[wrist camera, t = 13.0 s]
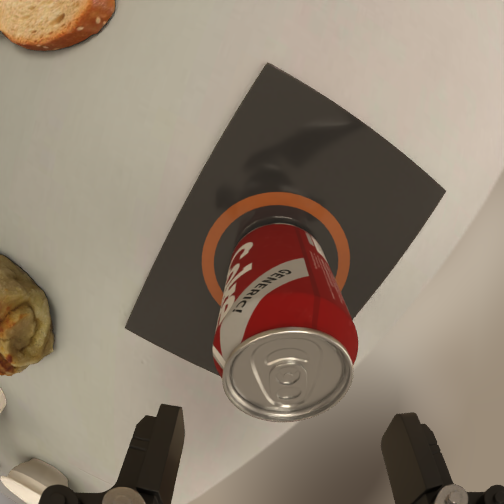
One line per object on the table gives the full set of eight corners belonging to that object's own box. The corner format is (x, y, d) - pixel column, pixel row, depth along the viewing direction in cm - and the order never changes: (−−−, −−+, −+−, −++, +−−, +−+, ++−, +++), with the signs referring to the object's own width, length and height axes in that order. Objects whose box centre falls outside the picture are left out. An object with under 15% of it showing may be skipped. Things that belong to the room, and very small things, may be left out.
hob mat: (267, 62, 19) (267, 62, 18) (444, 190, 21) (446, 191, 21) (125, 326, 27) (124, 328, 27) (278, 398, 30) (278, 400, 29)
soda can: (322, 216, 22) (376, 307, 11) (323, 300, 25) (358, 421, 14) (225, 224, 23) (192, 322, 12) (236, 307, 25) (220, 432, 14)
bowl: (100, 494, 44) (89, 527, 36) (56, 488, 47) (44, 515, 39) (41, 447, 39) (23, 482, 31) (4, 445, 41) (-12, 473, 34)
